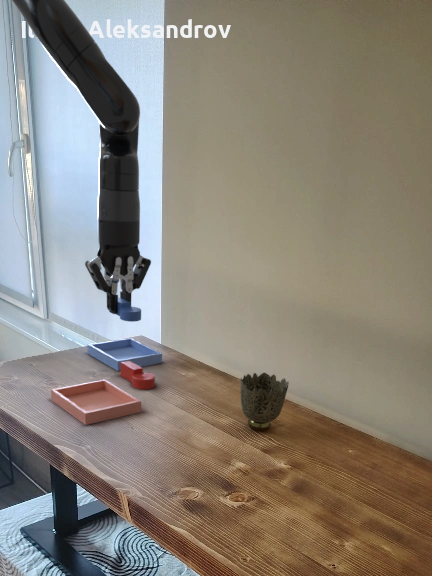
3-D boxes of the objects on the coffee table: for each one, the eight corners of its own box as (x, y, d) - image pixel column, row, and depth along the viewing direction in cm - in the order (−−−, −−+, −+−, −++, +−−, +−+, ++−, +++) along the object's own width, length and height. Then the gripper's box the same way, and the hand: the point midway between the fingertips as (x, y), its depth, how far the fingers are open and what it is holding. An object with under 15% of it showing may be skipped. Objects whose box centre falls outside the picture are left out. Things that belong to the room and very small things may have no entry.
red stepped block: (115, 376, 115) (115, 363, 113) (134, 373, 117) (134, 359, 116) (140, 391, 110) (140, 377, 108) (158, 387, 112) (159, 373, 111)
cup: (226, 425, 100) (230, 377, 96) (256, 414, 105) (262, 368, 101) (260, 442, 96) (266, 393, 92) (291, 430, 100) (298, 383, 96)
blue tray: (87, 353, 125) (87, 344, 124) (130, 346, 131) (130, 337, 130) (117, 371, 117) (117, 361, 116) (161, 362, 123) (162, 353, 122)
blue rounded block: (104, 312, 121) (104, 298, 120) (122, 309, 124) (122, 296, 122) (127, 322, 116) (127, 308, 115) (145, 320, 119) (145, 306, 117)
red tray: (51, 400, 103) (50, 389, 102) (105, 389, 109) (105, 379, 108) (85, 425, 96) (85, 413, 95) (141, 411, 102) (141, 401, 101)
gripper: (139, 212, 119) (138, 304, 128) (74, 213, 111) (77, 311, 120) (162, 218, 114) (159, 313, 123) (95, 220, 106) (97, 321, 115)
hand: (118, 312), depth 121 cm, fingers closed on blue rounded block, 2 cm apart
